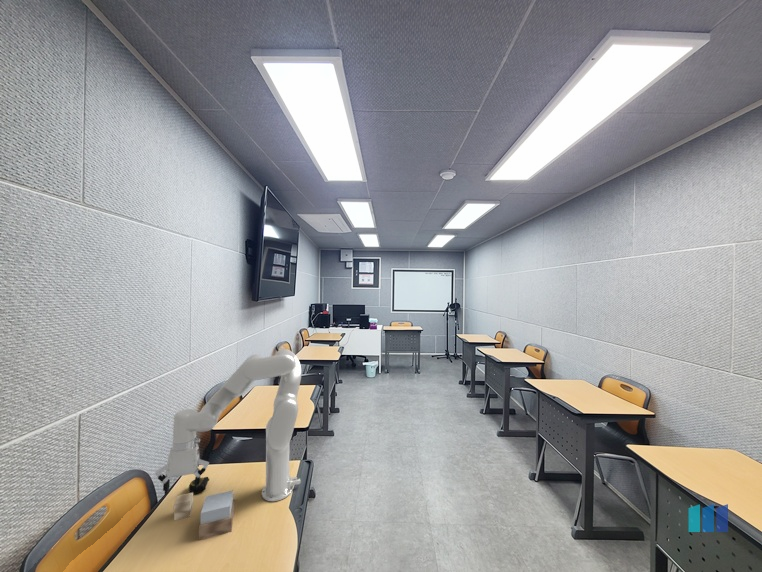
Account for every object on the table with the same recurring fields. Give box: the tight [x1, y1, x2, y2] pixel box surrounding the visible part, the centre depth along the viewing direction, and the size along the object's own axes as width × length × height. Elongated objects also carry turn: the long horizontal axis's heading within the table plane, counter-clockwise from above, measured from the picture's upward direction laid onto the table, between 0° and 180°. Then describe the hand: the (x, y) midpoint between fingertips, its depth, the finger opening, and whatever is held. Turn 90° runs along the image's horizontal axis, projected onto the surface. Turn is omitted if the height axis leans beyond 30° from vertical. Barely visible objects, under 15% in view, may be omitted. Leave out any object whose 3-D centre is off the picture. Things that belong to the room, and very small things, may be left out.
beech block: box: [173, 492, 194, 521], centre depth 111 cm, size 5×5×6 cm
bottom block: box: [198, 499, 236, 541], centre depth 106 cm, size 10×10×5 cm
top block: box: [200, 489, 234, 525], centre depth 106 cm, size 9×9×4 cm
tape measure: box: [188, 476, 210, 495], centre depth 125 cm, size 7×7×4 cm
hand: (181, 489), depth 111 cm, fingers open, 9 cm apart
